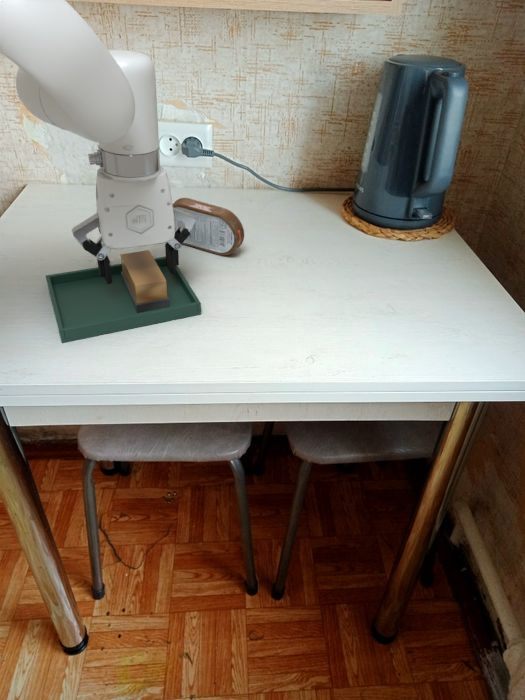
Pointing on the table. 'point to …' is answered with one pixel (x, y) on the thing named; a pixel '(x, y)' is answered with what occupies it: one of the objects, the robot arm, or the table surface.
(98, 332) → the tray
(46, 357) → the table surface
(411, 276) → the table surface
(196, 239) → the tin
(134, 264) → the eraser
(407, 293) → the table surface
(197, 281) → the table surface
